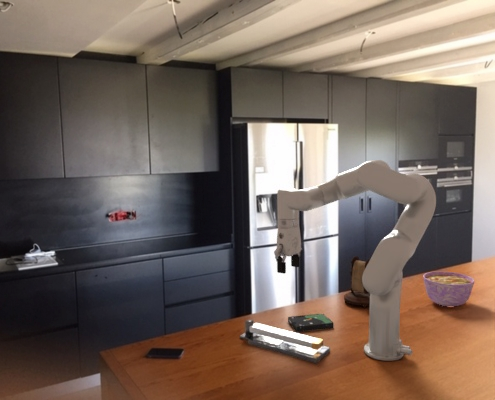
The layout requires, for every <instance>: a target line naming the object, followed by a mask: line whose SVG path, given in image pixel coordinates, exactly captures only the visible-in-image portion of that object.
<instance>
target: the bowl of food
mask: <svg viewBox="0 0 495 400" xmlns="http://www.w3.org/2000/svg"><path fill="white" fill-rule="evenodd" d="M422 276H423V283H424V287H425V288H424V289H425V291H426V294H427V297H428V298H429V299H430V300H431V301H432V302H433V303H435V304H436V305H438V304H439V305H438V306H440V305H442V306H441V307H443V306H457V307H458V306H459V307H460V306H462V305H464V304H466V303H467V301H469V299H470V296H471V294H472V290H473V287H474V284H475V279H474V277H471V276H469V275H466V274H464V273H459V272H454V271H453V272H452V271H430V272H426V273H424V274H423V275H422Z"/></svg>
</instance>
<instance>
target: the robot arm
mask: <svg viewBox="0 0 495 400" xmlns="http://www.w3.org/2000/svg"><path fill="white" fill-rule="evenodd" d="M369 191H370V192H372V193H374V194H376V195H379V196H382V197H384V198H386V199H388V200H391V201H393V202H396V203H398V204H402V205H405V207H404V209H403V211H402V213H401V214H400V216H399V218H398V220H397V222H396V224H395V225H394V227H393V229H392V230H391V232H390V233H388V234H387V235H386V236H384V237H383V238H382V239H381V240H380V241H379V243H378V245H377V246H376V248H375V250H374V251H373V254H371V255H372V256H371V258H369V259H370V261H369V263H368V265H367V267H366V268H365V270H364V273H363V276H362V282H363V285H364V288H365V289H366V290H367V291H368V292H369V293H370V305H369V310H368V311H369V312H368V313H369V321H368V322H369V324H368V342H367V343H366V344H365V345H364V346H363V352H364V353H365V355H367V356H368V357H370V358H371V359H375V360H379V361H386V362H391V361H398V360H401V359H402V358H403V357H404V355H406V356H412V355H413V350H412V349H411V346H409V345H404V344H403V340H402V339H400V321H401V320H400V319H401V317H400V315H401V293H402V285H403V269H404V268H405V266H406V264H407V262H408V261H409V260H410V259H411V258H412V257H413V255H414V254H415V252H416V249H417V247H418V246H419V243H420V241H421V240H422V239H423V236H424V234H425V232H426V230H427V228H428V226H429V225H430V222H431V221H432V219H433V216H434V213H435V210H436V206H437V195H436V192H435V189H434V186H433V185H432V183H431V182H430V181H429V179H427V178H426V177H425V176H424V175H421V174H419V173H408V174H404V173H402V172H399V171H397V170H395V169H391V167H390V166H389V164H388V162H385V161H384V160H381V159H374V160H373V159H372V160H368V161H365V162H363V163H361V164H360V165H359V166H357V167H354V168H351V169H348V170H346V171H343V172H341V173H338V174H337V175H336V176H335V178H333V179H331V180H329V181H326V182H324V183H320V184H318V185H315V186H312V187H308V188H303V189H297V188H293V187H284V188H280V189H278V190H277V193H276V194H277V195H276V197H277V203H276V204H277V209H276V210H277V234H276V235H277V237H276V249H275V250H274V251H273V254H274V258H275V261H276V271H277V273H278V274H279V273H280V274H286V273H287V272H286V271H287V270H286V268H287V267H286V265H287V263H286V260H287V259H286V258H287V257H290V258H291V259H290V263H291V264H290V266H291V267H293V268H299V267H300V257H301V252H302V237H301V229H300V223H299V222H300V220H299V217H300V216H299V215H300V213H299V212H300V211H301V212H308V211H312V210H314V209H317V208H320V207H323V206H327V205H329V204H331V203H334V202H337V201H340V200H347V199H348V198H352V197H354V196H358V195H361V194H364V193H365V192H369Z"/></svg>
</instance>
